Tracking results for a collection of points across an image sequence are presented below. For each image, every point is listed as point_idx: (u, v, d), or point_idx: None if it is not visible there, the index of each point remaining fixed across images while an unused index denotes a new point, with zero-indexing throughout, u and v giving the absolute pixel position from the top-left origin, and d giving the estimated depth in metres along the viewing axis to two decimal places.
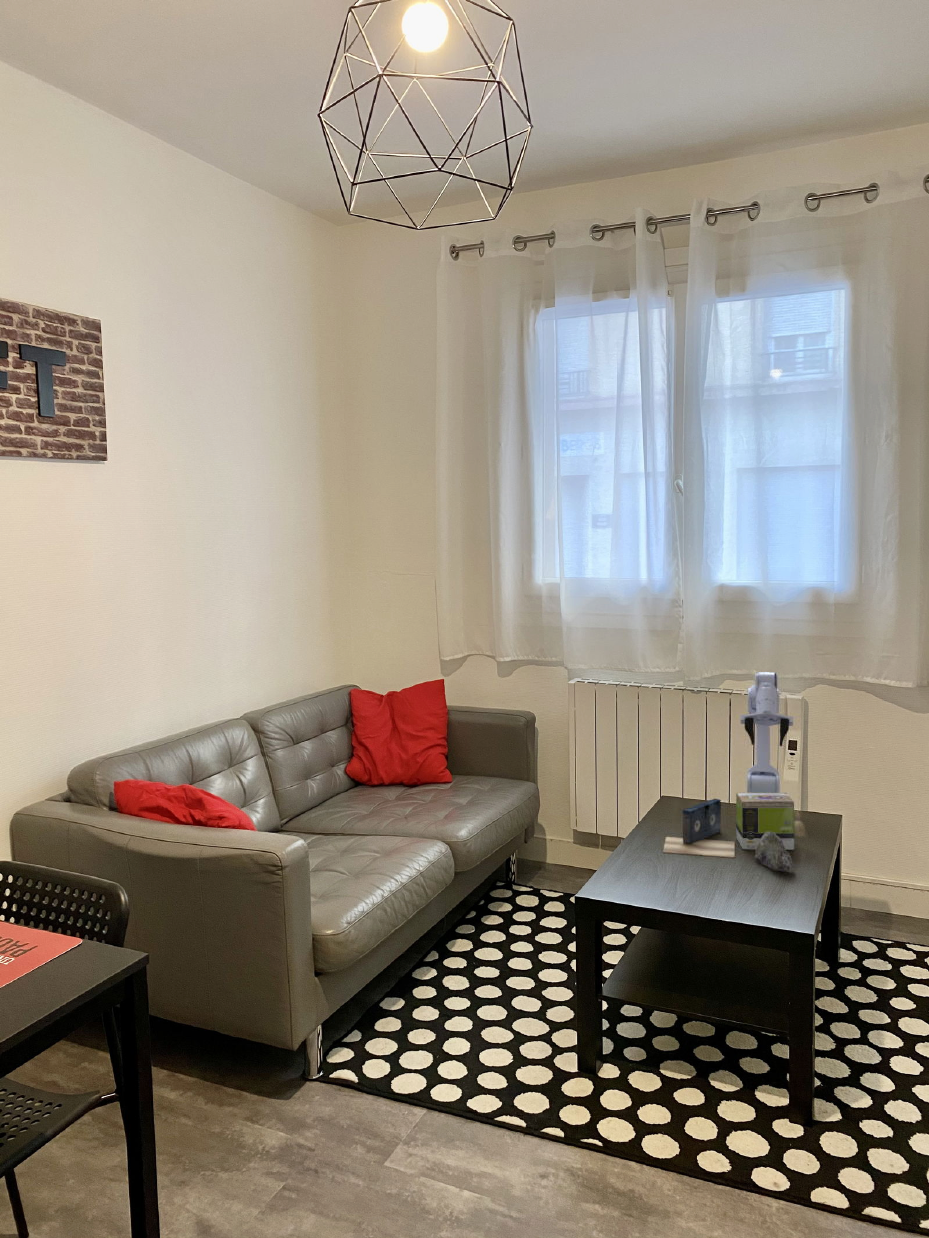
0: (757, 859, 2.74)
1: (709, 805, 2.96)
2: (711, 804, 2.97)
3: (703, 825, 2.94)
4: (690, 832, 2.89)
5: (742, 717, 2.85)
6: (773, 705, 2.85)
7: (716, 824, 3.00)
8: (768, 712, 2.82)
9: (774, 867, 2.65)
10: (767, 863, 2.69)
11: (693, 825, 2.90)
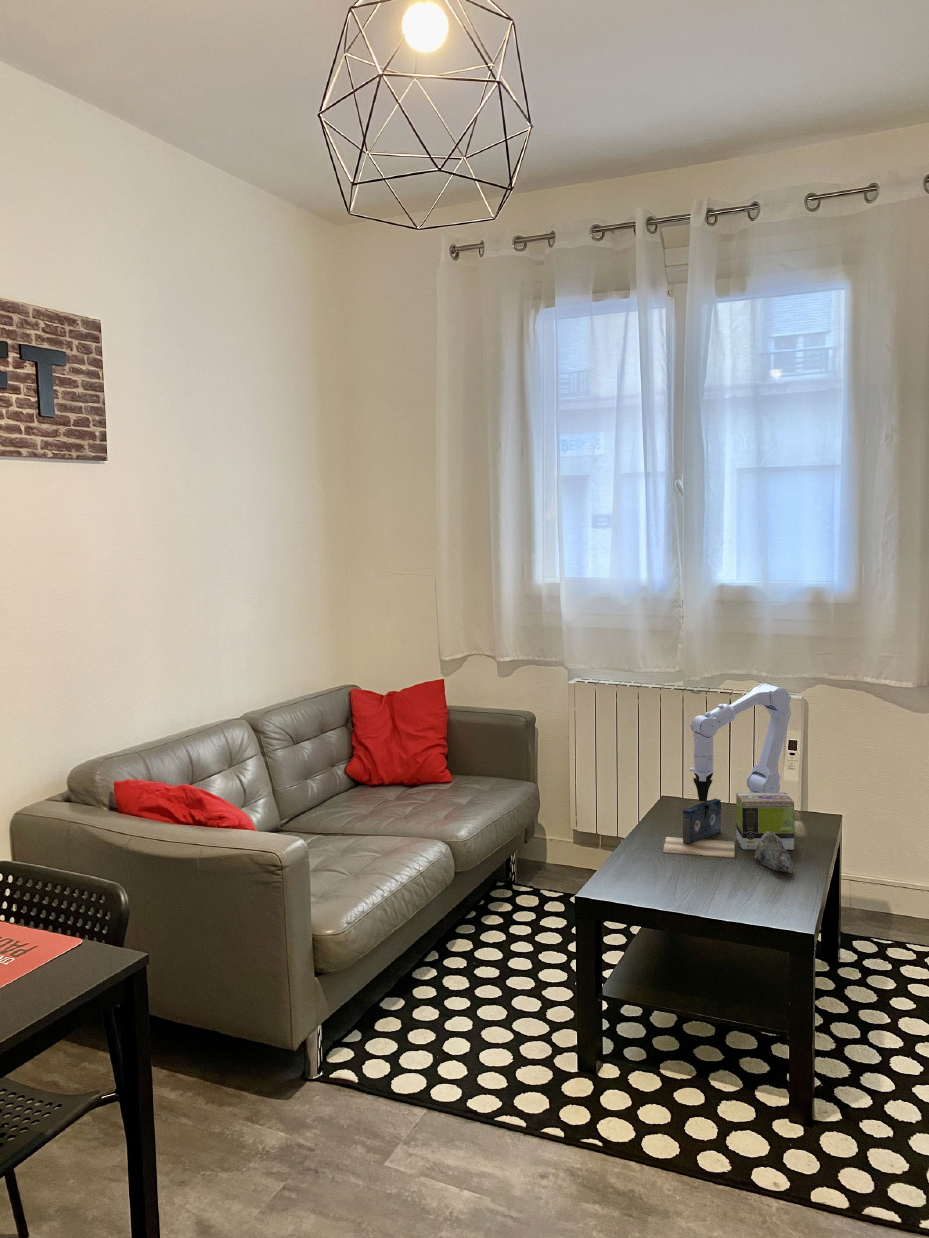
0: (757, 859, 2.74)
1: (709, 805, 2.96)
2: (711, 804, 2.97)
3: (703, 825, 2.94)
4: (690, 832, 2.89)
5: None
6: (696, 760, 2.99)
7: (716, 824, 3.00)
8: None
9: (773, 867, 2.65)
10: (766, 863, 2.69)
11: (693, 825, 2.90)
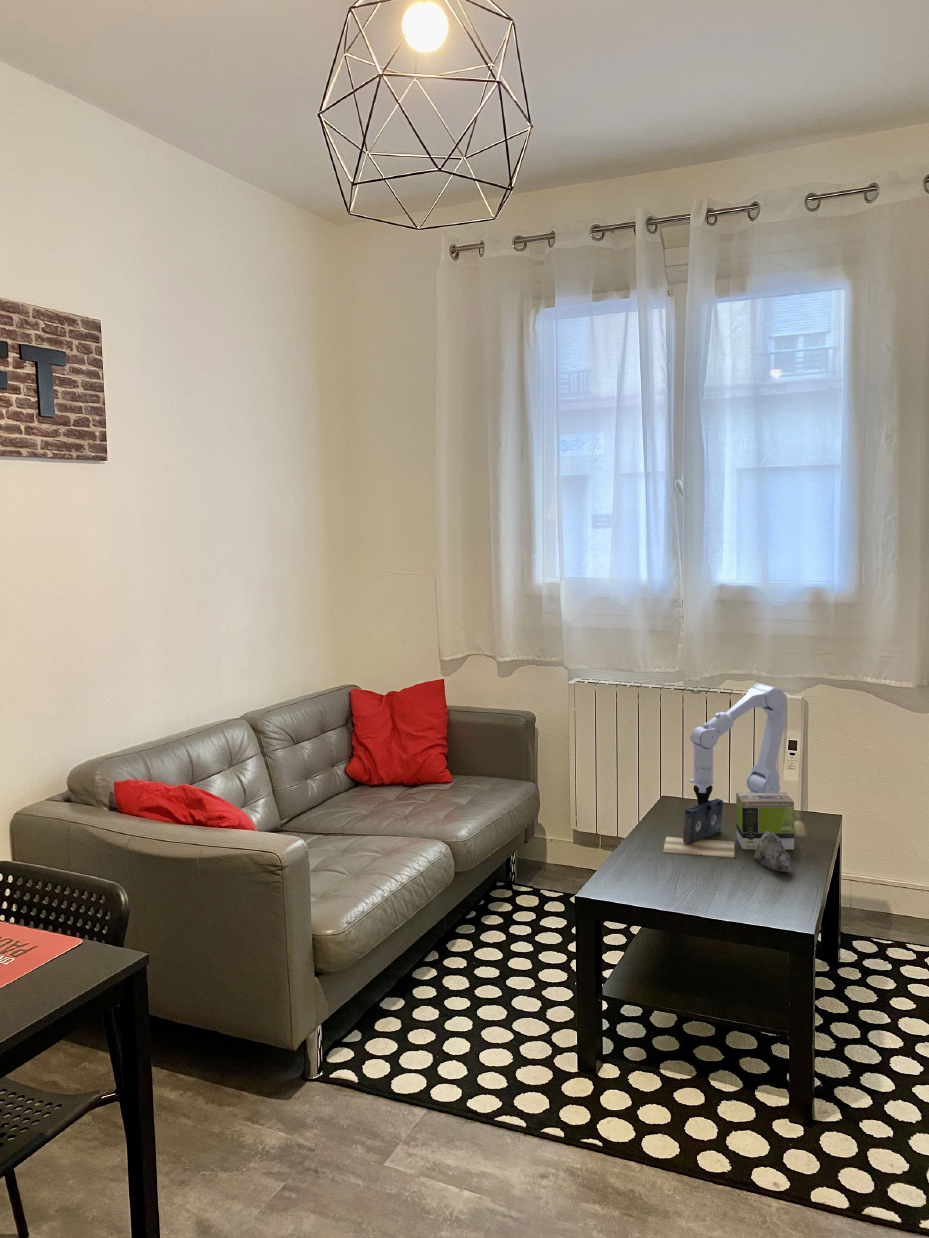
0: (756, 859, 2.74)
1: (711, 805, 2.96)
2: (713, 804, 2.97)
3: (704, 826, 2.94)
4: (691, 832, 2.89)
5: None
6: (696, 772, 2.99)
7: (717, 824, 3.00)
8: None
9: (773, 867, 2.65)
10: (766, 863, 2.69)
11: (694, 825, 2.90)
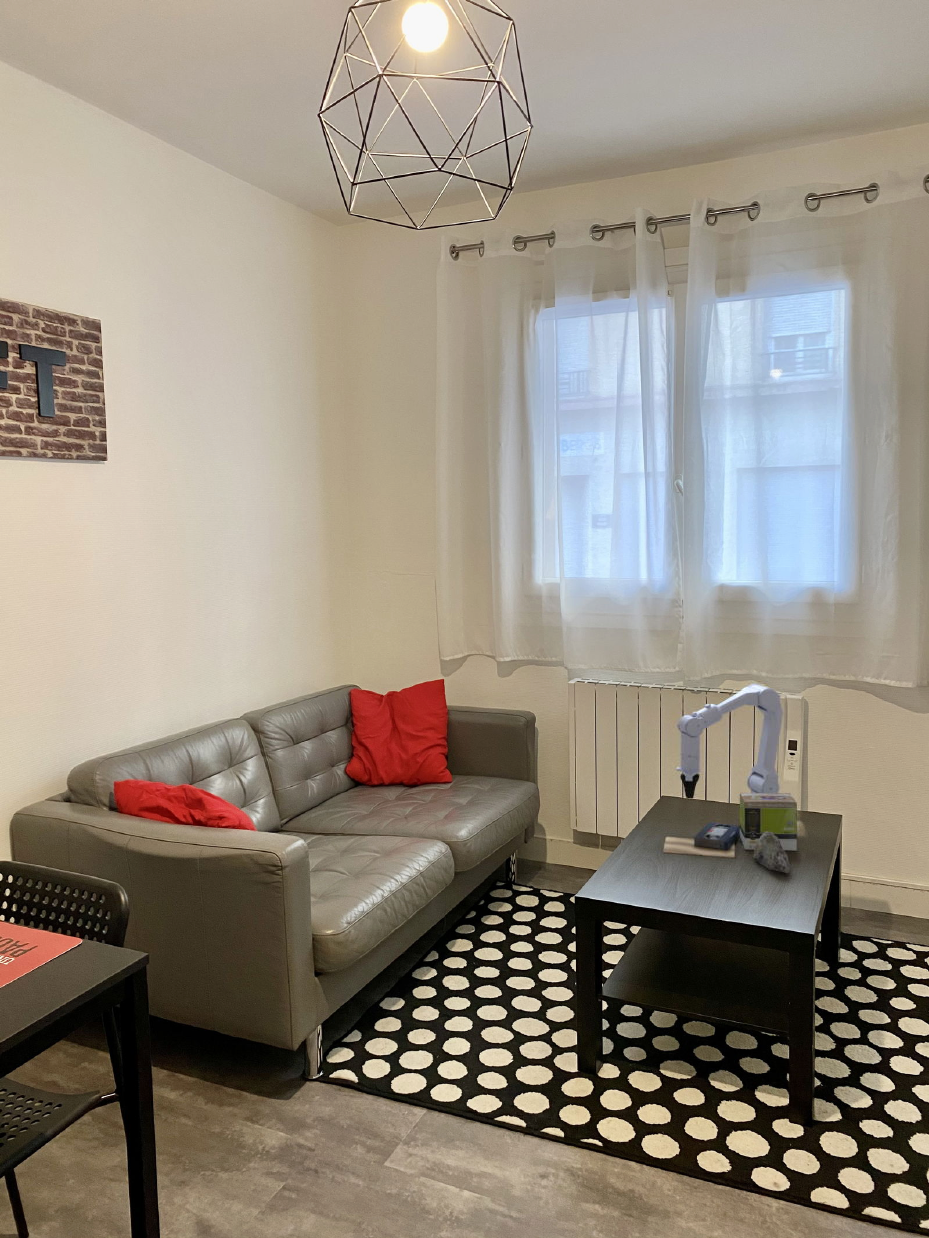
0: (755, 859, 2.74)
1: None
2: None
3: None
4: None
5: None
6: (682, 760, 2.99)
7: None
8: None
9: (770, 867, 2.66)
10: (764, 863, 2.70)
11: None
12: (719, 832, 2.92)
